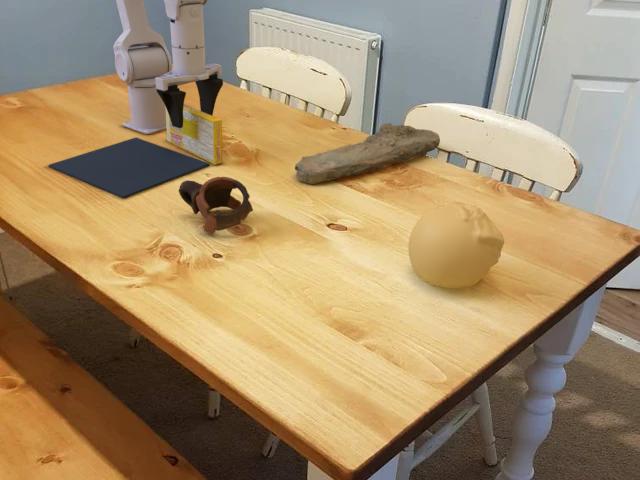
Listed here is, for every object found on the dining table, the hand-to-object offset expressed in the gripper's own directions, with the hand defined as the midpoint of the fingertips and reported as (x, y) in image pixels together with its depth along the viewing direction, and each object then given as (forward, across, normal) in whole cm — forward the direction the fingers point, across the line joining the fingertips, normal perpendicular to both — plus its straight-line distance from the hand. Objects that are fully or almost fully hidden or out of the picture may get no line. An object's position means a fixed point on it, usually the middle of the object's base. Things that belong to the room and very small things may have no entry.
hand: (192, 121), depth 129 cm
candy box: (+6, 0, 0) cm, 6 cm away
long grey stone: (+6, +19, -28) cm, 34 cm away
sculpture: (+6, -10, -60) cm, 61 cm away
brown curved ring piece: (+6, -19, -24) cm, 31 cm away
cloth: (+6, -13, +3) cm, 15 cm away
